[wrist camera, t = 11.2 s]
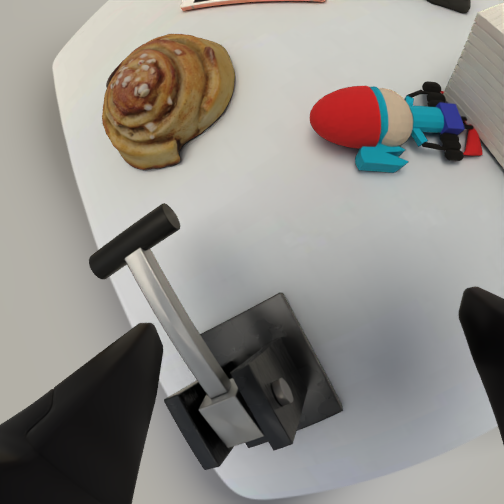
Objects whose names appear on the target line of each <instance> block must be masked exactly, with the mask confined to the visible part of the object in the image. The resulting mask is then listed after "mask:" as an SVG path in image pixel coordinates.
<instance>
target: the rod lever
mask: <svg viewBox="0 0 504 504" xmlns="http://www.w3.org/2000/svg"><path fill="white" fill-rule="evenodd" d="M179 229H180V223H179V220H178V218H177V216H176V214H175V213H174V211H173V210H172V209H171V208H170V207H169V206H168V205H167V204H165V203H164V204H161V205H160V206H159V207H157V208H156V209H154V210H153V211H151V212H150V213H148V214H147V215H146V216H144V217H143V218H141V219H140V220H139V221H137V222H136V223H134V224H133V225H132V226H130V227H129V228H127V229H126V230H125V231H123V232H122V233H121V234H119V235H118V236H117V237H115V238H114V239H113V240H111V241H110V242H109V243H107V244H106V245H105V246H103V247H102V248H101V249H99V250H98V251H97V252H95V253H94V254H93V255H92V256H91V257H90V259H89V264H90V268H91V270H92V271H93V273H94V274H95V275H96V276H97V277H98V278H100V279H106V278H108V277H109V276H111V275H112V274H114V273H115V272H116V271H118V270H119V269H121V268H122V267H124V266H125V265H128V267H129V268H130V270H131V272H132V274H133V276H134V278H135V280H136V281H137V283H138V285H139V287H140V289H141V290H142V292H143V294H144V296H145V298H146V299H147V301H148V303H149V304H150V306H151V308H152V310H153V311H154V313H155V315H156V316H157V318H158V320H159V321H160V323H161V325H162V326H163V328H164V330H165V331H166V333H167V335H168V336H169V338H170V339H171V341H172V343H173V344H174V346H175V347H176V349H177V350H178V352H179V354H180V355H181V357H182V358H183V360H184V361H185V363H186V364H187V366H188V367H189V369H190V370H191V372H192V373H193V375H194V376H195V378H196V379H197V381H198V382H199V384H200V385H201V386H202V388H203V389H204V391H205V392H206V396H205V398H204V400H203V402H202V404H201V406H200V407H199V409H198V410H199V412H200V413H201V414H202V416H203V417H204V418H205V420H206V421H207V422H208V424H209V425H210V426H211V427H212V429H213V430H214V431H215V433H216V434H217V435H218V436H219V438H220V439H221V440H222V441H223V443H224V444H225V445H226V446H227V447H228V448H230V447H233V446H236V445H239V444H242V443H245V442H248V441H251V440H254V439H257V438H260V437H263V436H265V435H264V433H263V431H262V430H261V428H260V426H259V425H258V423H257V421H256V419H255V418H254V416H253V414H252V412H251V410H250V409H249V407H248V405H247V403H246V402H245V400H244V398H243V396H242V394H241V392H240V391H239V389H238V387H237V385H236V383H235V381H234V379H233V378H232V379H229V378H228V377H227V376H226V374H225V373H224V371H223V370H222V368H221V366H220V365H219V363H218V362H217V360H216V359H215V357H214V356H213V354H212V353H211V351H210V350H209V348H208V346H207V345H206V343H205V342H204V340H203V339H202V337H201V335H200V334H199V332H198V330H197V329H196V327H195V326H194V324H193V322H192V321H191V319H190V317H189V316H188V314H187V312H186V311H185V309H184V307H183V306H182V304H181V302H180V301H179V299H178V297H177V296H176V294H175V292H174V290H173V289H172V287H171V285H170V283H169V282H168V280H167V278H166V276H165V275H164V273H163V271H162V269H161V267H160V266H159V264H158V262H157V260H156V258H155V257H154V255H153V253H152V251H151V249H150V248H152V247H153V246H155V245H156V244H158V243H159V242H161V241H162V240H164V239H165V238H167V237H168V236H170V235H172V234H173V233H175V232H176V231H178V230H179Z"/></svg>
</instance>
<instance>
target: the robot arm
mask: <svg viewBox="0 0 504 504" xmlns="http://www.w3.org/2000/svg"><path fill="white" fill-rule="evenodd" d="M459 320H460V323H461V325H462V328H463V331H464V334H465V337H466V340H467V343H468V346H469V349H470V352H471V355H472V358H473V360H474V363H475V365H476V368H477V370H478V373H479V375H480V378H481V380H482V383H483V385H484V388H485V390H486V393H487V396H488V398H489V401H490V404H491V407H492V409H493V412H494V415H495V418H496V421H497V424H498V427H499V430H500V434H501V437H502V440H503V444H504V299H503V298H501V297H499V296H497V295H494V294H492V293H490V292H488V291H486V290H484V289H482V288H479V287H471V288H467V289H465V291H464V293H463V297H462V301H461V305H460V309H459ZM162 355H163V345H162V342H161V340H160V338H159V335H158V333H157V330H156V328H155V326H154V325H153V324H152V323H139V324H138V325H136V326H135V327H134V328H132V329H131V330H130V331H128V332H127V333H126V334H124V335H123V336H122V337H120V338H119V339H118V340H116V341H115V342H114V343H112V344H111V345H110V346H108V347H107V348H106V349H104V350H103V351H102V352H100V353H99V354H98V355H96V356H95V357H94V358H92V359H91V360H90V361H88V362H87V363H86V364H84V365H83V366H82V367H80V368H79V369H78V370H77V371H75V372H74V373H73V374H71V375H70V376H69V377H67V378H66V379H65V380H63V381H62V382H61V383H59V384H58V385H57V386H55V387H54V389H51V390H50V391H49V392H48V393H46V394H45V395H44V396H42V397H41V398H40V399H38V400H37V401H35V402H34V403H33V404H31V405H30V406H28V407H27V408H26V409H24V410H22V411H21V412H19V413H18V414H16V415H15V416H13V417H12V418H10V419H9V420H7V421H6V422H4V423H2V424H1V425H0V504H132V499H133V494H134V489H135V485H136V480H137V475H138V471H139V466H140V461H141V457H142V453H143V449H144V444H145V440H146V436H147V432H148V428H149V424H150V420H151V415H152V411H153V408H154V404H155V399H156V395H157V388H158V382H159V375H160V368H161V362H162Z"/></svg>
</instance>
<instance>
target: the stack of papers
mask: <svg viewBox="0 0 504 504" xmlns="http://www.w3.org/2000/svg"><path fill="white" fill-rule="evenodd" d="M475 22H476V23H473V26H472V29H471V30H472V32H470V34H469V36H468V40H467V41H466V44H465V46H464V47H465V48H464V49H463V51H462V53H461V57H460V58H459V60H458V62H457V63H458V64H457V65H456V67H455V69H454V70H455V71H454V72H453V74H452V76H451V77H452V78H451V79H450V80H449V82H448V85H447V87H446V89H445V90H446V91H444V93H443V95H444V96H445V98H446V101H447V103H451V104H456V106H457V109H458V112H459V114H460V116H465V117H466V118H467V121H465V122H466V123H467V124H468V125H469V124H471V125H473V127H474V128H475V130H476V131H477V133H478V135H479V138H480V139H481V140H482V142H483V143H484V144H485V145H486V146H487V148H488V149H489V150H490V151H491V153H492V154H493V155H494V157H495V158H496V159H497V161H498V162H499V163H500V165H501V166H502V167H503V169H504V3H501V4H499V5H496V6H493V7H491V8H488V9H486V10H483V11H481V12H478V13H477V16H476V18H475Z"/></svg>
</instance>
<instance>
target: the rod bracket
mask: <svg viewBox="0 0 504 504" xmlns="http://www.w3.org/2000/svg"><path fill="white" fill-rule="evenodd" d="M200 335H201V337H202V339H203V340H204V342H205V343H206V345H207V346H208V348H209V350H210V351H211V353H212V354H213V356H214V357H215V359H216V360H217V362H218V363H219V365H220V366H221V368H222V370H223V371H224V373H225V374H226V376H227V377H228V378H229V379H232V378H233V379H234V381H235V383H236V385H237V387H238V389H239V391H240V392H241V394H242V396H243V398H244V400H245V402H246V403H247V405H248V407H249V409H250V410H251V412H252V414H253V416H254V418H255V419H256V421H257V423H258V425H259V426H260V428H261V430H262V431H263V433H264V435H265V436H263V437H260V438H257V439H254V440H251V441H248V442H245V443H246V445H247V447H248V448H250V447H253V446H256V445H259V444H262V443H265V442H269V443H270V445H271V447H272V448H273V450H277V449H280V448H283V447H285V446H288V445H291V444H293V441H294V437H295V434H296V431H298V430H300V429H303V428H305V427H307V426H310V425H312V424H315V423H317V422H319V421H322V420H324V419H326V418H328V417H331V416H333V415H335V414H337V413H339V412H341V411H343V408H342V404H341V402H340V401H339V399H338V397H337V395H336V393H335V391H334V389H333V387H332V385H331V383H330V381H329V379H328V378H327V376H326V374H325V372H324V370H323V368H322V366H321V364H320V362H319V360H318V358H317V357H316V355H315V353H314V351H313V349H312V347H311V345H310V343H309V341H308V339H307V338H306V336H305V334H304V332H303V330H302V328H301V326H300V324H299V322H298V320H297V319H296V317H295V315H294V313H293V311H292V309H291V307H290V305H289V303H288V302H287V300H286V298H285V296H284V294H283V293H278V294H276V295H275V296H273V297H271V298H269V299H267V300H265V301H263V302H262V303H260V304H258V305H256V306H254V307H252V308H250V309H248V310H247V311H245V312H243V313H241V314H239V315H237V316H235V317H233V318H231V319H229V320H227V321H225V322H223V323H222V324H220V325H218V326H216V327H214V328H212V329H210V330H208V331H206V332H204V333H202V334H200ZM205 396H206V392H205V391H204V389H203V388H202V386H201V385H200V384H199V382H198V381H197V380H196V381H195V382H193V383H191V384H190V385H188V386H186V387H185V388H183V389H181V390H180V391H178V392H176V393H174V394H173V395H171V396H169V397H167V398H166V399H164V402H165V404H166V406H167V407H168V409H169V411H170V413H171V415H172V416H173V418H174V420H175V422H176V424H177V425H178V427H179V429H180V431H181V433H182V434H183V436H184V438H185V439H186V441H187V443H188V444H189V446H190V448H191V449H192V451H193V452H194V454H195V456H196V457H197V459H198V461H199V462H200V464H201V465H202V467H203V468H204V469H205V470H207V469H211V468H215V467H219V466H220V465H221V464H222V462H223V461H224V460H225V458H226V457H227V456H228V454H229V453H230V451H231V450H232V449H233V447H234V446H233V447H230V448H228V447H227V446H226V445H225V444H224V443H223V441H222V440H221V439H220V438H219V436H218V435H217V434H216V433H215V431H214V430H213V429H212V427H211V426H210V425H209V424H208V422H207V421H206V420H205V418H204V417H203V416H202V414H201V413H200V412H199V410H198V409H199V407H200V406H201V404H202V402H203V400H204V398H205Z"/></svg>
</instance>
